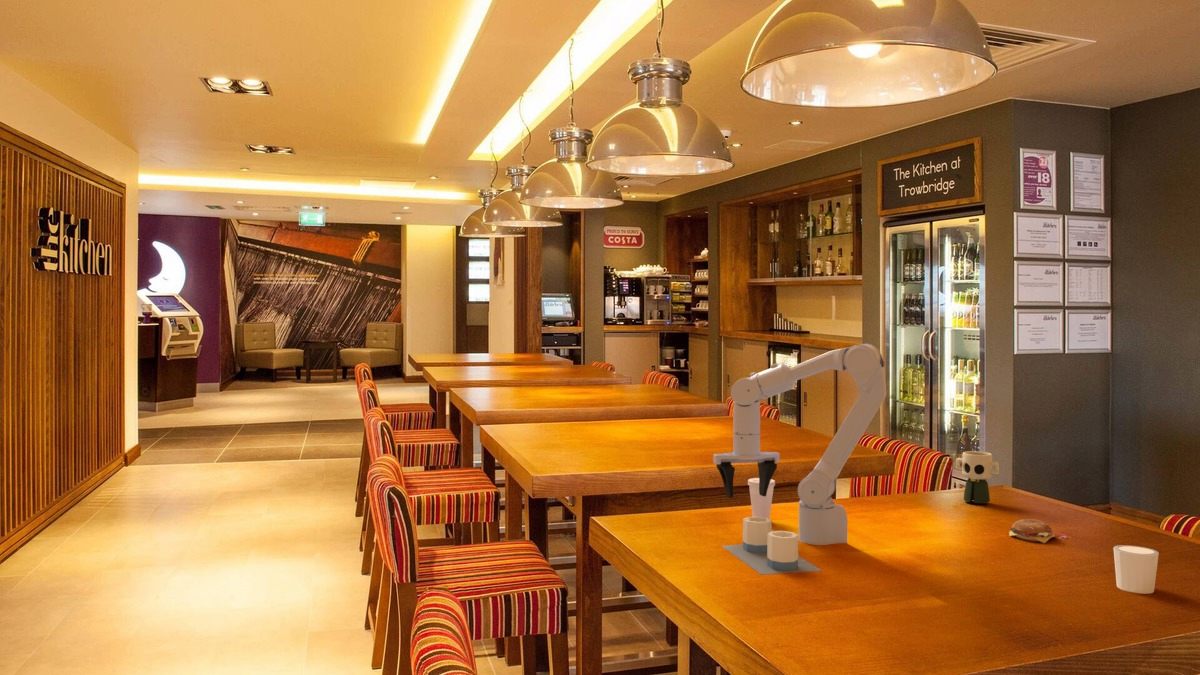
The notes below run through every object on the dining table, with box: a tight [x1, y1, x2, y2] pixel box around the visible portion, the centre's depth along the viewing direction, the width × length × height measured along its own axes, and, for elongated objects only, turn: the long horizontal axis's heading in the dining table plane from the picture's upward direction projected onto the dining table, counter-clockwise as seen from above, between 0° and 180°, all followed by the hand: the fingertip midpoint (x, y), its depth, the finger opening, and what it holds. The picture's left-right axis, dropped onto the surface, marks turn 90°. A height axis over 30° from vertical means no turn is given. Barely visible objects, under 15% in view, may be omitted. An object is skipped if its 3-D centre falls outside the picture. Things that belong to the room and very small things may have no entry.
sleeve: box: [742, 516, 773, 553], centre depth 172 cm, size 5×5×6 cm
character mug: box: [955, 450, 1000, 505], centre depth 223 cm, size 11×7×13 cm, turn 47°
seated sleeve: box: [767, 530, 799, 571], centre depth 161 cm, size 5×5×6 cm
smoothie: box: [747, 477, 776, 520], centre depth 202 cm, size 6×6×14 cm
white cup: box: [1112, 544, 1160, 595], centre depth 153 cm, size 7×7×7 cm
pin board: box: [721, 544, 823, 576], centre depth 166 cm, size 12×20×6 cm, turn 13°
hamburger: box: [1008, 518, 1072, 544], centre depth 188 cm, size 14×14×6 cm
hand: (746, 496), depth 185 cm, fingers open, 7 cm apart
